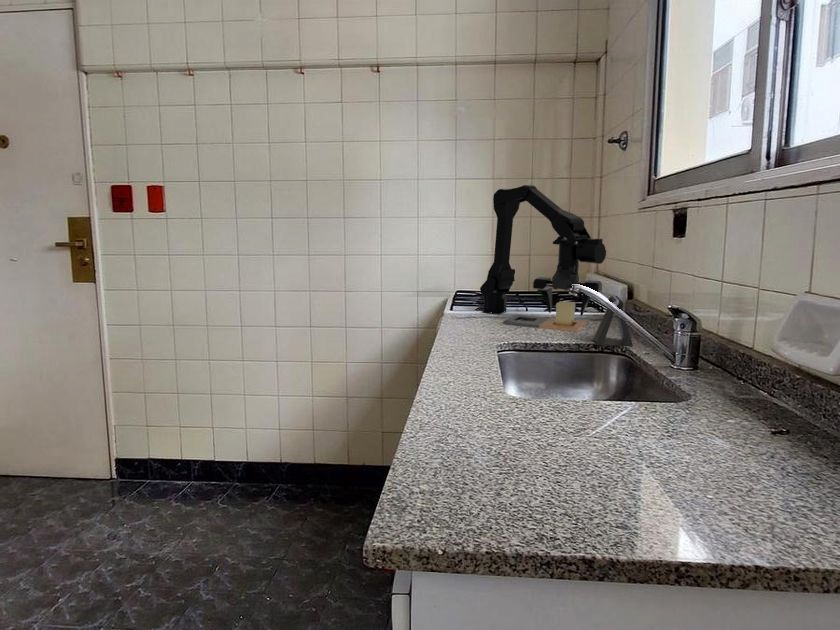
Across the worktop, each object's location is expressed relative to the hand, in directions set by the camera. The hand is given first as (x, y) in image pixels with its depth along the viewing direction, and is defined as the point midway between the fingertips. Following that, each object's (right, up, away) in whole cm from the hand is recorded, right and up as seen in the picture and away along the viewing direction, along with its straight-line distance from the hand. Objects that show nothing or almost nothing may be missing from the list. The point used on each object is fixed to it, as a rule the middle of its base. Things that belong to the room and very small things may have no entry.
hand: (565, 314), depth 164 cm
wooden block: (0, -4, +1) cm, 4 cm away
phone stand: (+7, -8, -19) cm, 22 cm away
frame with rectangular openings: (-5, -3, +4) cm, 7 cm away
